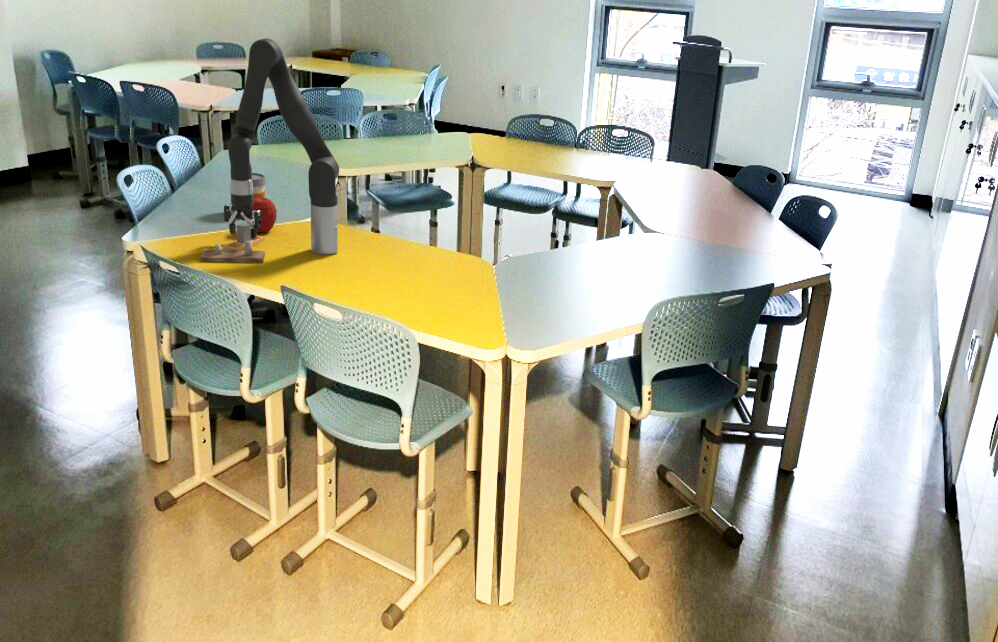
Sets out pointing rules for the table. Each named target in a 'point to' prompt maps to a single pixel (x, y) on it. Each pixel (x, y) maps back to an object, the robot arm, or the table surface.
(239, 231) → the hole bar
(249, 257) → the pin board
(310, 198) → the robot arm
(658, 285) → the table surface
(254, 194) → the reusable coffee cup
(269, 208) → the apple
